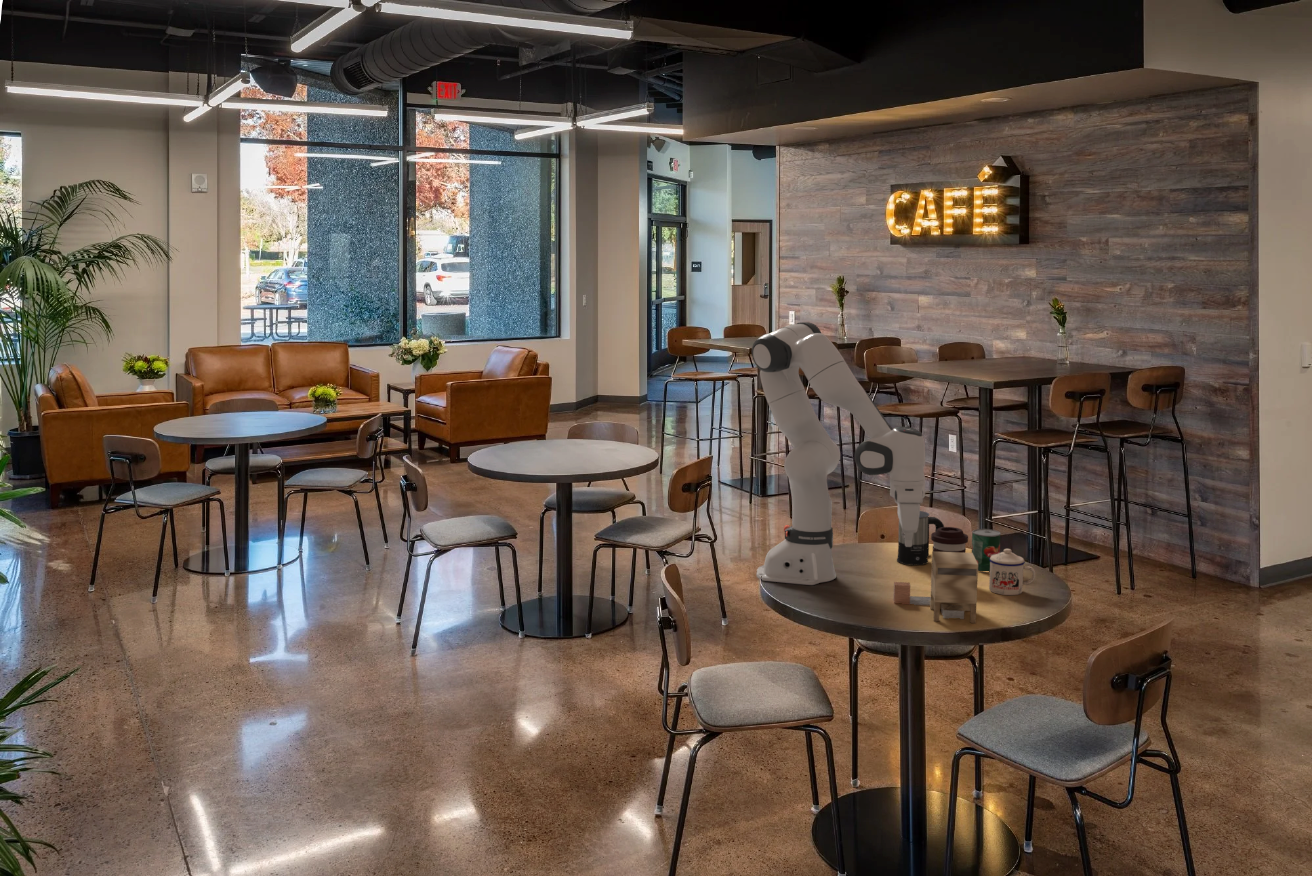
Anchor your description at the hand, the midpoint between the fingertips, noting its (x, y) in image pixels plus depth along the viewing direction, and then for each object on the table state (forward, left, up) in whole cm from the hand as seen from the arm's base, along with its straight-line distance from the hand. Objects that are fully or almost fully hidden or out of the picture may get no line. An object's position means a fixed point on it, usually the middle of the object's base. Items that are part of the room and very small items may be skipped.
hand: (906, 541), depth 287 cm
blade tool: (+6, 0, -16) cm, 17 cm away
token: (+11, -10, -17) cm, 22 cm away
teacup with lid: (+29, +14, -16) cm, 36 cm away
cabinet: (+11, -10, -16) cm, 22 cm away
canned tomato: (+25, +36, -16) cm, 47 cm away
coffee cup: (+13, +21, -16) cm, 29 cm away
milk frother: (+5, +45, -17) cm, 48 cm away
